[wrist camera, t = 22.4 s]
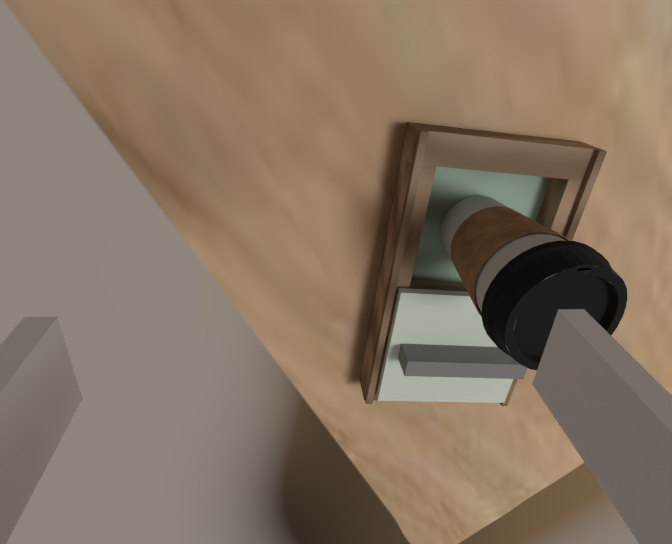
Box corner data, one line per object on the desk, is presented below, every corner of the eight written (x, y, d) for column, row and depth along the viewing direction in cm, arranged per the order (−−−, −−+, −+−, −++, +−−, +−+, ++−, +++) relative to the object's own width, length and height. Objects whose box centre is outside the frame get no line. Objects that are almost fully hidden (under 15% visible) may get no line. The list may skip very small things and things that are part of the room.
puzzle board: (407, 122, 36) (419, 131, 32) (581, 141, 38) (608, 151, 35) (359, 379, 47) (365, 403, 44) (493, 382, 50) (508, 405, 47)
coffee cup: (527, 178, 38) (658, 255, 25) (509, 267, 42) (615, 375, 29) (430, 181, 37) (513, 263, 24) (421, 272, 41) (488, 385, 28)
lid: (399, 287, 39) (408, 308, 36) (539, 295, 41) (558, 316, 38) (376, 394, 44) (382, 420, 41) (500, 397, 46) (515, 421, 43)
